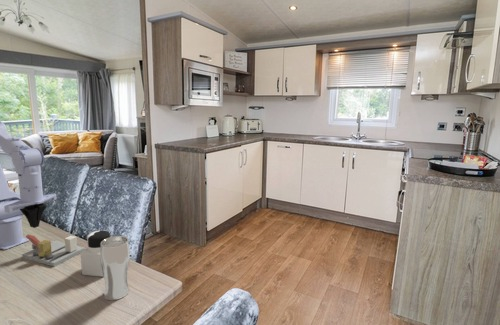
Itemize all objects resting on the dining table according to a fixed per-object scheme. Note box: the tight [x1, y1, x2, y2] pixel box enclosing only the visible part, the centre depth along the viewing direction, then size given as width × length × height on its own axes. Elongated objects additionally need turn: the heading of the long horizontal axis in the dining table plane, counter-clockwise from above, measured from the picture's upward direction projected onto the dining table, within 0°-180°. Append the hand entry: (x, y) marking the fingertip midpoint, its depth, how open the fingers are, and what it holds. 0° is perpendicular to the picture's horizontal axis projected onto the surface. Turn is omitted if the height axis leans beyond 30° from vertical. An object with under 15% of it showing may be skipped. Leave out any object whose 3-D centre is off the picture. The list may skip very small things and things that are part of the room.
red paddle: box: [25, 234, 41, 248], centre depth 90 cm, size 4×1×7 cm
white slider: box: [64, 235, 78, 252], centre depth 91 cm, size 2×2×4 cm
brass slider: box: [38, 239, 52, 257], centre depth 88 cm, size 2×2×4 cm
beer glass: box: [100, 235, 131, 301], centre depth 72 cm, size 7×7×15 cm
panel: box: [22, 239, 86, 267], centre depth 92 cm, size 15×11×3 cm
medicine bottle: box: [80, 230, 111, 278], centre depth 83 cm, size 7×7×12 cm
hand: (34, 226), depth 89 cm, fingers closed
